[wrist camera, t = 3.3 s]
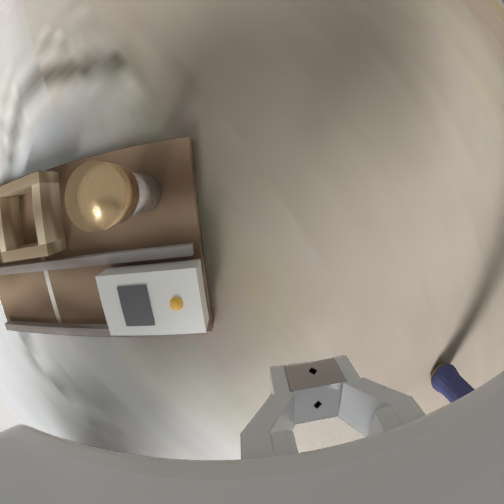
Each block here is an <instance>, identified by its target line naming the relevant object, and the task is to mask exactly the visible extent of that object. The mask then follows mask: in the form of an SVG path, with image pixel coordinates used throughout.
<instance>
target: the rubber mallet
mask: <svg viewBox="0 0 504 504" xmlns="http://www.w3.org/2000/svg"><path fill="white" fill-rule="evenodd" d="M431 384H432V386H433V388H434V389H435V390H436V391H438V392H440V393H442V394H443V395H444V396H445V397H446V398H447V399H448V400H449V401H450V402H451V403H452V402H454V401H456V400H457V399H459V398H461V397H463V396H465V395H467V394H468V393H470V392H472V391H473V390H475V389H473V388H472V387H471V386H470V385H469V384H468V383H467V382H466V381H465V380H464V379H463V378H462V377H461V376H460V375H459V373H458V372H457V370H456V368H455V367H454V366H453V365H451V364H443V363H442V364H440V365H438V366H437V367H436V368H435V369H434V370H433V372H432V374H431Z"/></svg>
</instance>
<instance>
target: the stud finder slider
mask: <svg viewBox="0 0 504 504" xmlns="http://www.w3.org/2000/svg"><path fill="white" fill-rule="evenodd" d="M95 278H96V283H97V287H98V291H99V295H100V299H101V303H102V307H103V310H104V314H105V317H106V321H107V324H108V328H109V331H110V334H111V335H117V336H128V335H171V334H192V333H206V331H207V326H208V321H209V315H208V308H207V302H206V296H205V289H204V282H203V275H202V268H201V260H200V259H194V260H184V261H174V262H163V263H153V264H142V265H132V266H121V267H111V268H107V269H106V270H104V271H103V272H101V273H100V274H98V275H97V276H95Z"/></svg>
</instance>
